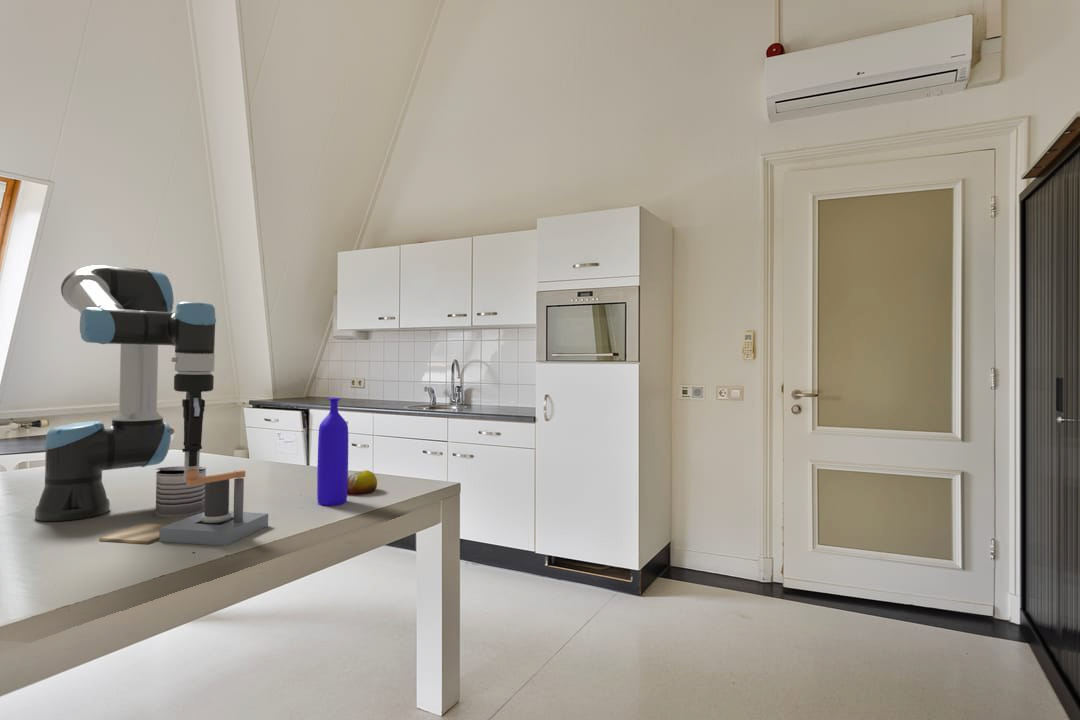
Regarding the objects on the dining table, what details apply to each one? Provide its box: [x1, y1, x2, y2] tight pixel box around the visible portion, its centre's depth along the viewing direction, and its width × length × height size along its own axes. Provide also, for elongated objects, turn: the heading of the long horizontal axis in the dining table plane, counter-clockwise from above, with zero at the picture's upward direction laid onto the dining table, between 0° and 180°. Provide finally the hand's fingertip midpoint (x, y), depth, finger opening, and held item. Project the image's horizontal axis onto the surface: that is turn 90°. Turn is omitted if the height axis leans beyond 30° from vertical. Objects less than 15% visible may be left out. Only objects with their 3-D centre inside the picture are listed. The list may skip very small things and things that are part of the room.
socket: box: [158, 477, 269, 547], centre depth 139 cm, size 16×16×13 cm
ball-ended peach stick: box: [186, 469, 246, 486], centre depth 134 cm, size 13×3×3 cm, turn 151°
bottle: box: [316, 397, 349, 507], centre depth 170 cm, size 8×8×30 cm
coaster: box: [98, 522, 167, 545], centre depth 137 cm, size 12×12×1 cm
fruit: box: [347, 470, 378, 496], centre depth 185 cm, size 11×10×8 cm
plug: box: [201, 479, 233, 525], centre depth 139 cm, size 6×6×13 cm
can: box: [155, 465, 207, 518], centre depth 158 cm, size 11×11×12 cm
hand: (191, 480), depth 130 cm, fingers closed
